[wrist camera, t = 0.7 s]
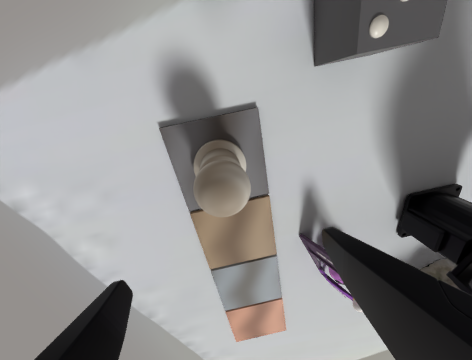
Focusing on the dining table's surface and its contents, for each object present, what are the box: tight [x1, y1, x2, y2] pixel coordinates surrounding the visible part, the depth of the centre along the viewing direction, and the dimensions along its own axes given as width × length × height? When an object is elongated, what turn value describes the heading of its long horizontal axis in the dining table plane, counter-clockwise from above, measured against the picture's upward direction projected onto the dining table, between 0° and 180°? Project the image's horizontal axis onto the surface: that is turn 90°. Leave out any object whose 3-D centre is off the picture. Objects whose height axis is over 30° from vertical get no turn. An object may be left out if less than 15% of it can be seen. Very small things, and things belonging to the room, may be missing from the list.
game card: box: [299, 234, 363, 312], centre depth 22 cm, size 7×5×9 cm
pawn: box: [193, 139, 251, 217], centre depth 14 cm, size 5×5×7 cm
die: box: [314, 0, 447, 66], centre depth 12 cm, size 5×5×5 cm
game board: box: [159, 107, 286, 342], centre depth 23 cm, size 9×36×1 cm, turn 11°
